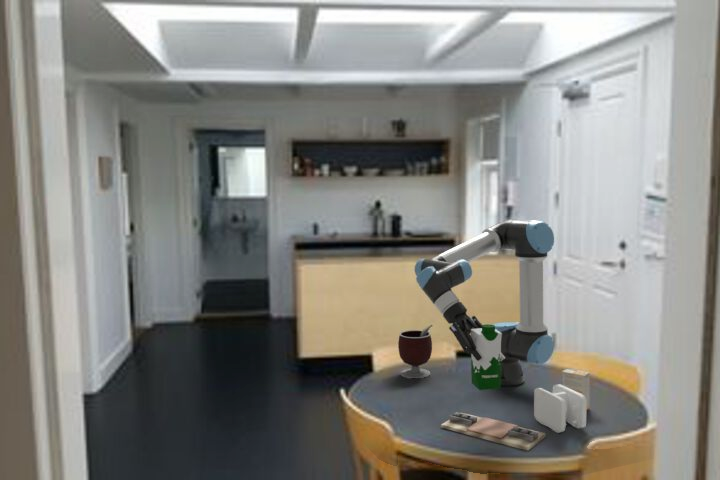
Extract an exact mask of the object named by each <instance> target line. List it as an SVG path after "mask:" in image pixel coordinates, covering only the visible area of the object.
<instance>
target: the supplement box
mask: <svg viewBox="0 0 720 480" xmlns="http://www.w3.org/2000/svg"><path fill="white" fill-rule="evenodd" d="M561 385H563V386H565V387H567V388H570V389H572V390H574V391H576V392H578V393H581V394H582V395H584V396H585V398H586V401H587V404H586V412H587V411H588V410H590V387H591V385H590V372H588V371H582V370H577V369H572V368H567V369H564V370H562V371H561Z"/></svg>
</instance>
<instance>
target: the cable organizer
mask: <svg viewBox="0 0 720 480" xmlns="http://www.w3.org/2000/svg"><path fill="white" fill-rule="evenodd" d="M533 394H534V395H533V416H534V419H535V420H536V422H539V424H541V425H543V426H545V427H548V428H550V429H551V431H553V432H555V433H557V434H559V433H562V432H563V433H564V432H565V430H566V426H567V425H568V424H570V425H571V426H572V427H574V428H576V429H578V430H579V429H583V428H585V427H586V426H587V411H586V404H587V401H586V398H585V396H584V395H582V394H581V393H578V392H576V391H574V390H572V389H570V388H567V387H565V386H563V385H562V383H561V384H560V383H559V384H558V383H557V384H554V385H553V386H552V392H551V391H548V390H547V389H545V388H543V387H536V388H535V389H534V391H533ZM567 423H568V424H567Z"/></svg>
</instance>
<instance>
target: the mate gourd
mask: <svg viewBox="0 0 720 480" xmlns="http://www.w3.org/2000/svg"><path fill="white" fill-rule="evenodd" d="M431 327H433V324H430V325H428V326H426V327H425V328H424V329H422V330H420V329H419V330H418V329H417V330H416V329H412V330H405V331H401V332H399V336H398V342H397V344H398V347H397V348H398V352H399V353H398V354H399V358H400V359H401V360H402V362H403V363H405V364H407V365H409V366H411V368H405V369H403V370H401V371H400V375H401V376H402V377H403V378H405V377H406V379H411V378H421V379H425V378H424V377H426V378H429V377H430V376H431V371H430V370H428V369H424V368H420V366H422V365H424V364H427V363H428V361H429V360H430V359H431V356H432V352H433V342H432V341H433V340H432V337H431V332H429V330H430V328H431ZM429 375H430V376H429ZM428 376H429V377H428Z"/></svg>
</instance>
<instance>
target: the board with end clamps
mask: <svg viewBox="0 0 720 480" xmlns="http://www.w3.org/2000/svg"><path fill="white" fill-rule="evenodd" d="M440 428H442V429H446V430H450V431H453V432H456V433H461V434H464V435H468V436H472V437H475V438H479V439H483V440H486V441H491V442H494V443H497V444H501V445H505V446H509V447H512V448H515V449H521V450H523V451H528V452H529V451H530V450H531V449H532V448H533V447H535V446H536V445H537V444H538V443H539V442H541V441H542V440H543V439H545V437H546V433H545V432H541V431H538V430H533V429H529V428H524V427H521V426H519V425H518V424H513V423H510V422H505V421H502V420H497V419H493V418H490V417H489V418H488V417H486V416H484V417H481V416H477V415H472V414H469V413H464V412H457V411H455V412H454V413H453V414H450V415H449V419H448V420H447V421H445V422H443V423H441V426H440Z"/></svg>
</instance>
